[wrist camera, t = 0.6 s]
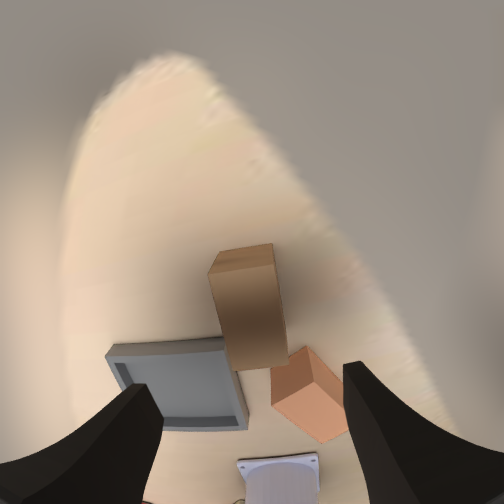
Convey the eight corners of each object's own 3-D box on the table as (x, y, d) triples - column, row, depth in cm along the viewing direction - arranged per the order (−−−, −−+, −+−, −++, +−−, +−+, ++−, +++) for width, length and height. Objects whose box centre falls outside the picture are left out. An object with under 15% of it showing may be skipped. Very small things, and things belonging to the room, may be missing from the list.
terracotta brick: (348, 388, 21) (359, 424, 17) (315, 407, 22) (321, 443, 18) (306, 344, 20) (314, 381, 16) (270, 367, 20) (271, 405, 17)
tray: (248, 415, 22) (248, 429, 20) (149, 416, 23) (144, 429, 21) (226, 336, 20) (223, 350, 18) (113, 344, 20) (104, 356, 19)
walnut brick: (285, 328, 19) (289, 364, 16) (238, 334, 20) (233, 371, 16) (271, 242, 18) (273, 264, 14) (219, 251, 18) (207, 274, 14)
